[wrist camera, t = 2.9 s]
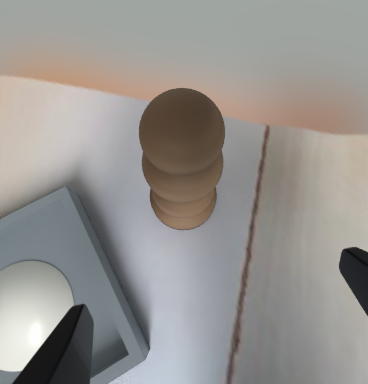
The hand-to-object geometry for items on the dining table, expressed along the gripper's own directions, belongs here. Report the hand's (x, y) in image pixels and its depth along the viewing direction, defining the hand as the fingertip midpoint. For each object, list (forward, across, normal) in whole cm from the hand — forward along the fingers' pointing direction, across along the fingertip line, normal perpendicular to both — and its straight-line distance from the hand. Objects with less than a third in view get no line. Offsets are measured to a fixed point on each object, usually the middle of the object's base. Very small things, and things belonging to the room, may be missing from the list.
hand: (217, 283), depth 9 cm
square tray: (+9, +14, +9) cm, 19 cm away
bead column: (+14, 0, +4) cm, 14 cm away
